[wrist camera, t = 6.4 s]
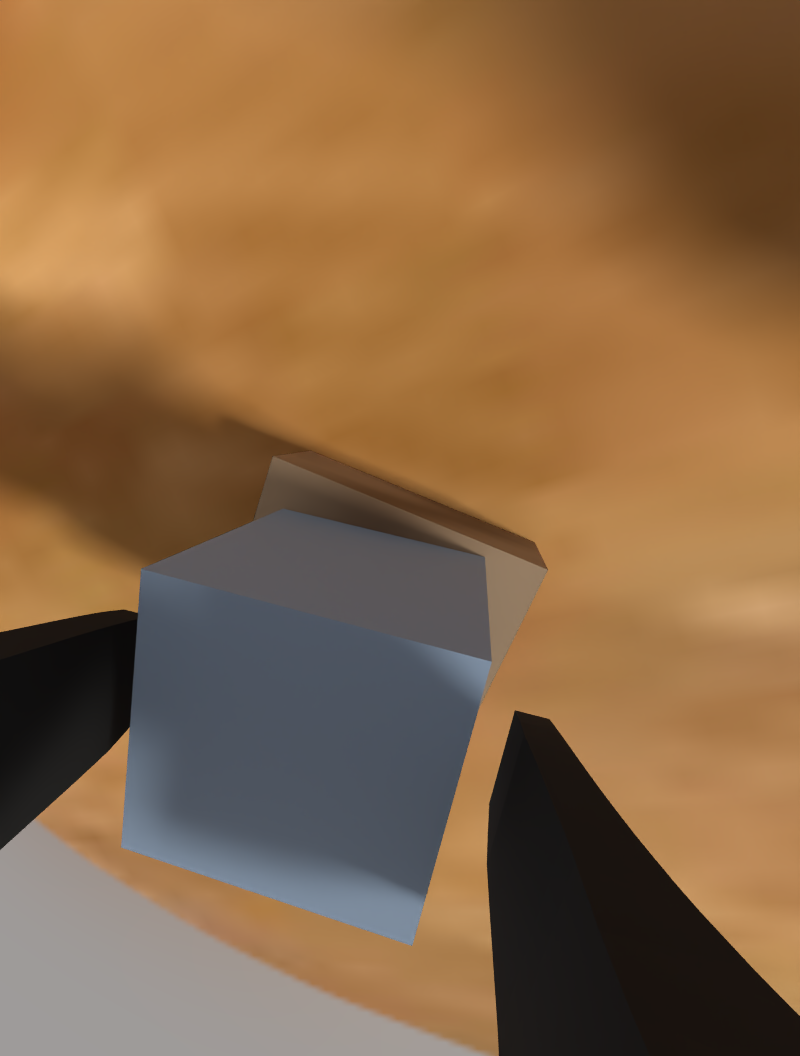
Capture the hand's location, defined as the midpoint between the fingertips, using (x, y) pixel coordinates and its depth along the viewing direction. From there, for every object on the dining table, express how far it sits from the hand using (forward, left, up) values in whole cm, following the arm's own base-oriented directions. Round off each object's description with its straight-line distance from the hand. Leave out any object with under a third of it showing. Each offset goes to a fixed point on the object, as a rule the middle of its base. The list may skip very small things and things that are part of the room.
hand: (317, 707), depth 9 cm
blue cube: (0, 0, -3) cm, 3 cm away
